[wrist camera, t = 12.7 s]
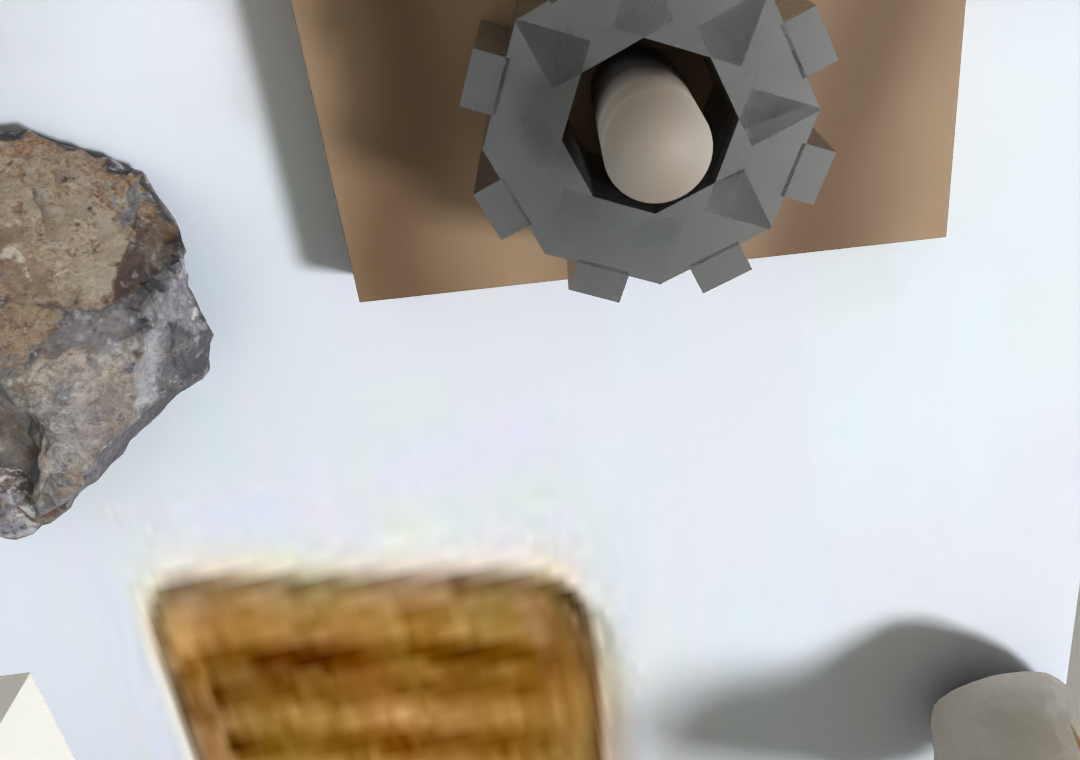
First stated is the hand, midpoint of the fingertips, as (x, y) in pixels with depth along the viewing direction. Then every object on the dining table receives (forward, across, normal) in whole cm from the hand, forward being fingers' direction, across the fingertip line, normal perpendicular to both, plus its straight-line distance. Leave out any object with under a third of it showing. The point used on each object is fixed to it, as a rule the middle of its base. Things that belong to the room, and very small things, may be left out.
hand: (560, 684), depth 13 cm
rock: (+22, -16, -2) cm, 28 cm away
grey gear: (+19, +3, +3) cm, 19 cm away
